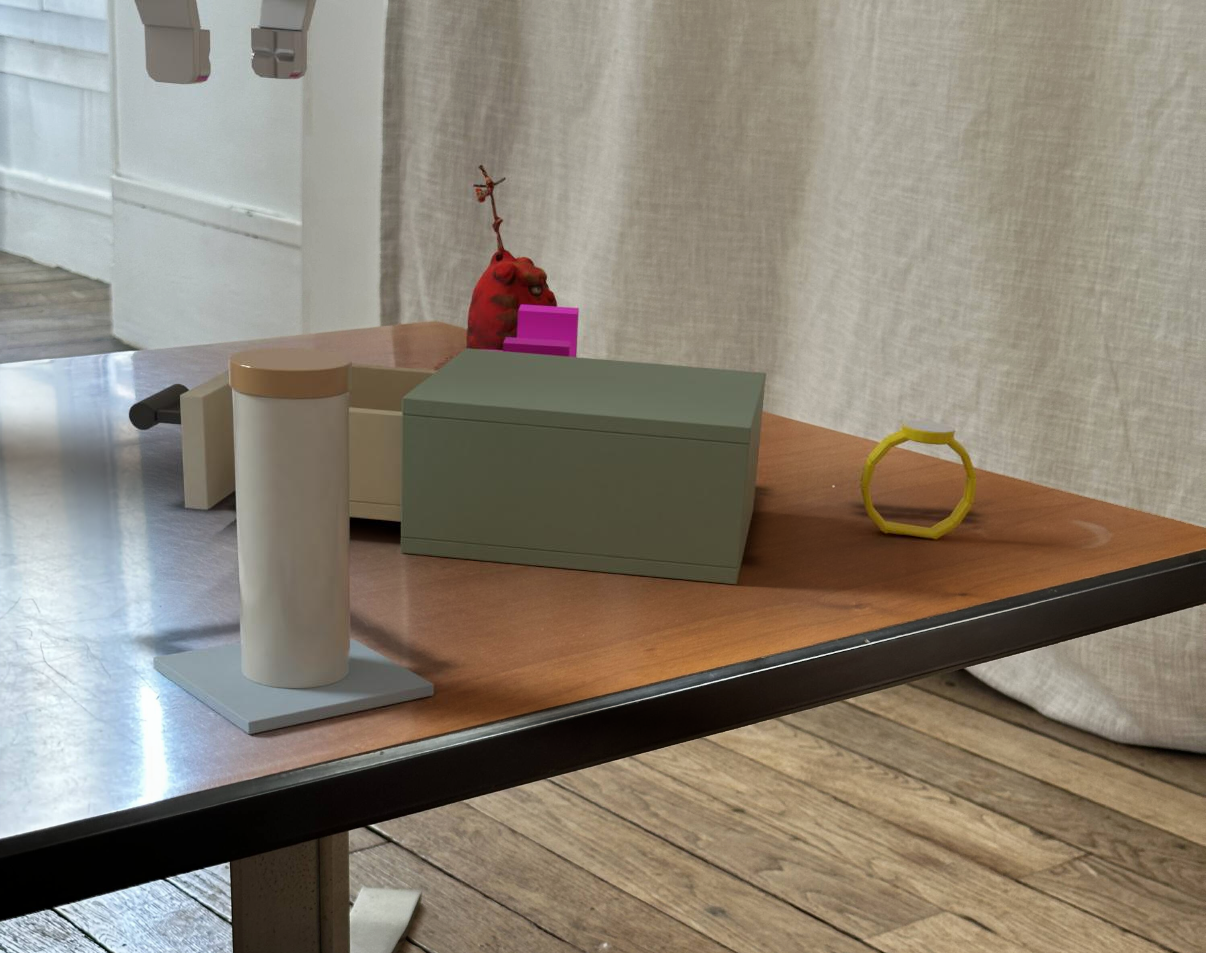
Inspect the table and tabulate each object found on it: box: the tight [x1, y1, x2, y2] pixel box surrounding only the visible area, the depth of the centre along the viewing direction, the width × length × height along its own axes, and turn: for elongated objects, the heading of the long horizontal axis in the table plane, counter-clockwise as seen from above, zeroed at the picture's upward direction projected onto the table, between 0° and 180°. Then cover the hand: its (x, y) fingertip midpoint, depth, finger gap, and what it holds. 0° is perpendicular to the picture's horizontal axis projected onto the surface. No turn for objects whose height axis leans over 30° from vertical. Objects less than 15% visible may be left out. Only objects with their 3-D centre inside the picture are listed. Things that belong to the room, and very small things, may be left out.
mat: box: [153, 636, 435, 735], centre depth 67 cm, size 8×8×1 cm
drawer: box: [128, 363, 437, 523], centre depth 90 cm, size 20×13×6 cm
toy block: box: [481, 304, 580, 357], centre depth 105 cm, size 15×6×8 cm, turn 179°
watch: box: [859, 419, 978, 540], centre depth 91 cm, size 6×3×6 cm, turn 87°
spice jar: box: [228, 347, 353, 689], centre depth 64 cm, size 4×4×12 cm
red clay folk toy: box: [465, 164, 558, 351], centre depth 121 cm, size 8×7×15 cm
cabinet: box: [400, 347, 767, 585], centre depth 88 cm, size 17×15×8 cm
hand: (232, 80), depth 64 cm, fingers open, 8 cm apart
